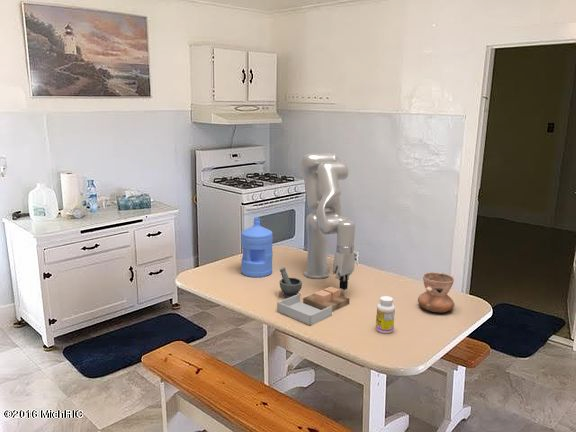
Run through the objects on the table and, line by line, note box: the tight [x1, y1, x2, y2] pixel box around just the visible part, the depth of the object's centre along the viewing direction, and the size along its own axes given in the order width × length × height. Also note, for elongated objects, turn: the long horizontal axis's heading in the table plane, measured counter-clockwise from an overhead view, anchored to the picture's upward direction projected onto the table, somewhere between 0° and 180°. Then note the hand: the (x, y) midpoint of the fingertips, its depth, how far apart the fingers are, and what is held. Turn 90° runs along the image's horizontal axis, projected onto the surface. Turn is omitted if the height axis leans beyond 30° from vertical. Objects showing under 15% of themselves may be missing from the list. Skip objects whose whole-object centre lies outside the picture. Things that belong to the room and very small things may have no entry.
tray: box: [276, 293, 333, 326], centre depth 198 cm, size 13×18×4 cm
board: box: [302, 293, 351, 313], centre depth 208 cm, size 14×14×2 cm
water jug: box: [240, 216, 274, 278], centre depth 241 cm, size 16×16×28 cm
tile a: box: [323, 286, 341, 299], centre depth 209 cm, size 5×5×3 cm
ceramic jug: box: [417, 271, 455, 313], centre depth 204 cm, size 18×14×14 cm
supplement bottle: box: [375, 295, 396, 334], centre depth 183 cm, size 7×7×13 cm
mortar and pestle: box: [279, 267, 303, 299], centre depth 214 cm, size 11×9×12 cm
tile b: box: [313, 289, 331, 303], centre depth 205 cm, size 5×5×3 cm
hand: (343, 288), depth 215 cm, fingers closed
